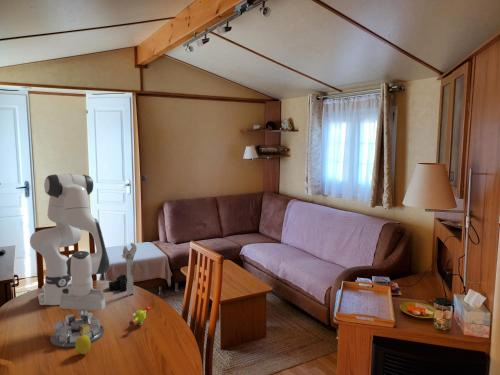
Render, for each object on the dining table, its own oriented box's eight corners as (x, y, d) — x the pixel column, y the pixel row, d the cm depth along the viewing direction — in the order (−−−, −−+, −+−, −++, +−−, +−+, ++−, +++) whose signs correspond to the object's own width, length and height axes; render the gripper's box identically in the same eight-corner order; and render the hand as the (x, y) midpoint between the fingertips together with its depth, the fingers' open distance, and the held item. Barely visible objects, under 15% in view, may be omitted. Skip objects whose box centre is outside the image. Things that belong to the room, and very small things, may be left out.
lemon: (78, 351, 155) (77, 331, 154) (92, 350, 156) (92, 331, 155) (73, 358, 150) (72, 338, 149) (88, 357, 150) (87, 337, 149)
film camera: (108, 288, 228) (108, 273, 227) (126, 286, 231) (125, 271, 230) (109, 297, 214) (109, 280, 213) (128, 294, 217) (127, 278, 216)
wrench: (124, 299, 209) (122, 244, 206) (122, 299, 210) (120, 244, 208) (138, 296, 214) (136, 242, 212) (136, 295, 216) (134, 241, 213)
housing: (43, 335, 169) (43, 321, 168) (92, 320, 183) (92, 308, 182) (60, 353, 153) (59, 338, 153) (111, 336, 168) (111, 322, 167)
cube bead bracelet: (47, 333, 168) (46, 321, 167) (88, 320, 181) (88, 308, 180) (64, 347, 155) (64, 334, 155) (107, 332, 169) (107, 319, 168)
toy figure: (143, 316, 188) (142, 302, 188) (154, 317, 187) (153, 303, 187) (124, 333, 171) (124, 318, 170) (136, 334, 170) (135, 319, 169)
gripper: (107, 287, 175) (108, 317, 176) (65, 284, 178) (66, 313, 179) (100, 292, 169) (101, 323, 170) (56, 289, 172) (58, 319, 173)
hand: (83, 318), depth 175 cm, fingers closed, pressing on cube bead bracelet
